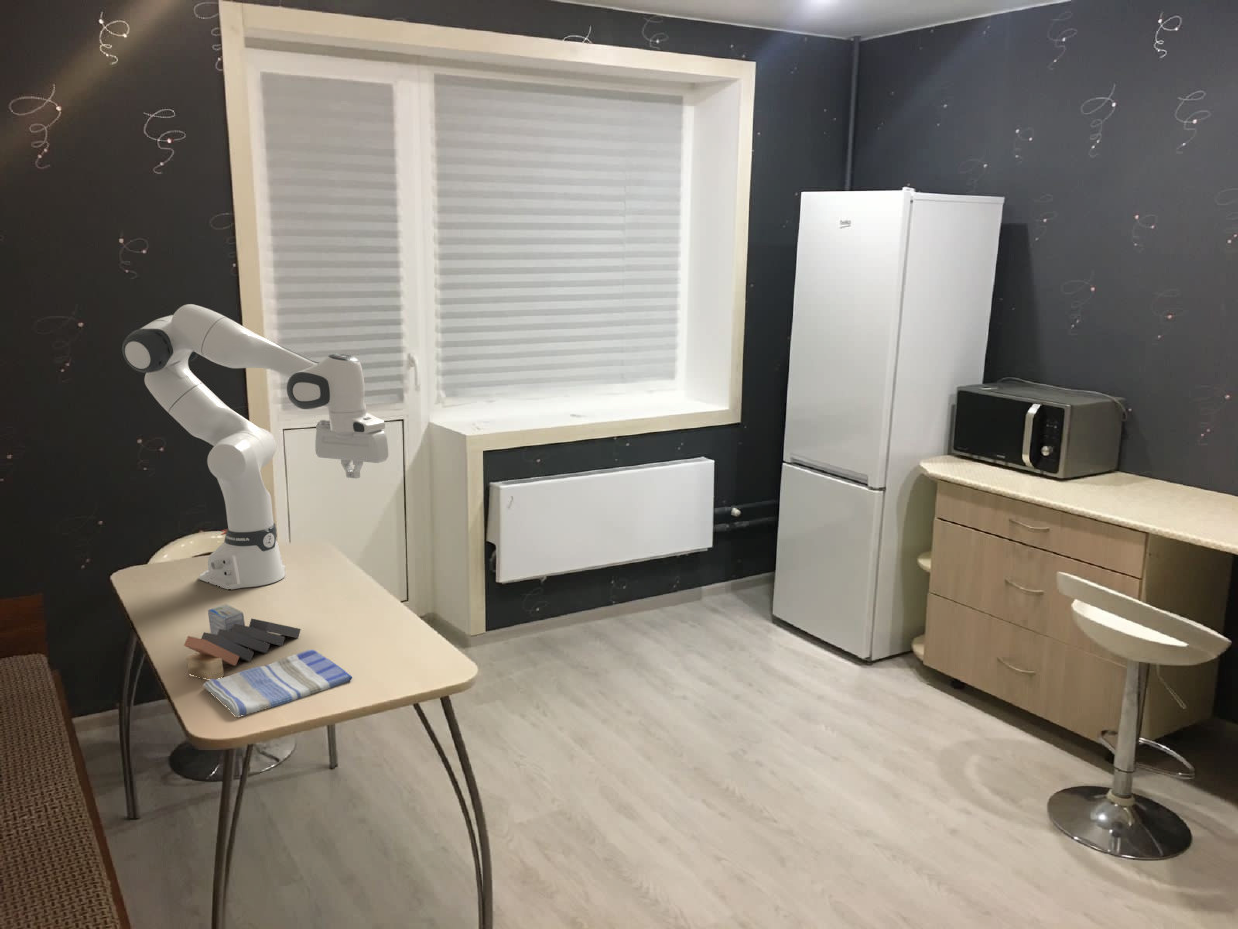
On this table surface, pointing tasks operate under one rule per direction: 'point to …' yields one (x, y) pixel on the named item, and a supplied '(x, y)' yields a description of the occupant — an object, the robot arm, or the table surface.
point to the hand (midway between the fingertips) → (353, 477)
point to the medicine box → (224, 618)
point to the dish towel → (277, 682)
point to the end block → (205, 666)
